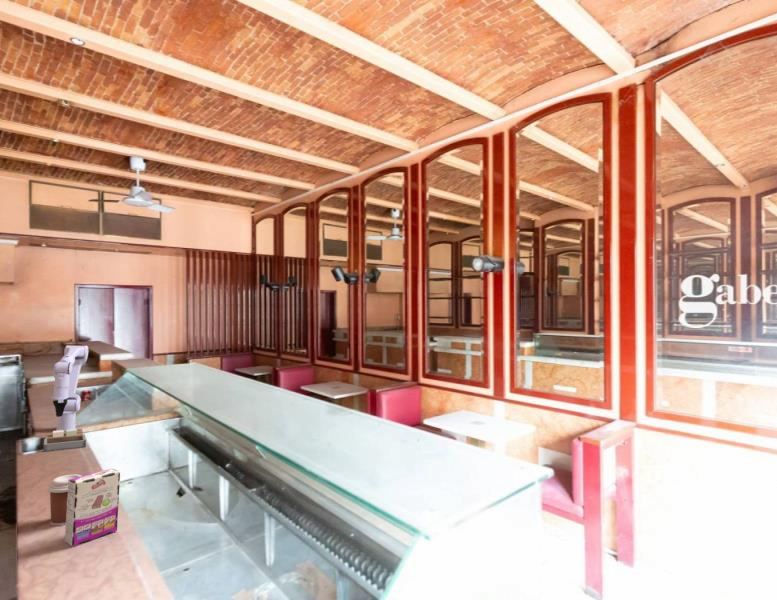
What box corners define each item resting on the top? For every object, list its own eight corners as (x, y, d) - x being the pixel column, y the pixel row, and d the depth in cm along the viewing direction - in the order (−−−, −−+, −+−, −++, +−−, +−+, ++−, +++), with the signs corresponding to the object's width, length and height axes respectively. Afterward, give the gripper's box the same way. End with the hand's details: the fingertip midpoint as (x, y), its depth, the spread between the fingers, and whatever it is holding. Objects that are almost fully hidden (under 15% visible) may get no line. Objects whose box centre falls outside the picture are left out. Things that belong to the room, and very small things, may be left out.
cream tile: (52, 435, 206) (53, 430, 206) (63, 434, 208) (63, 429, 208) (52, 437, 203) (53, 432, 203) (63, 436, 205) (63, 431, 205)
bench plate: (45, 437, 210) (46, 432, 210) (81, 434, 218) (81, 429, 219) (45, 444, 199) (45, 439, 199) (82, 440, 207) (83, 435, 208)
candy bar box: (108, 526, 125) (112, 467, 126) (117, 531, 122) (121, 471, 123) (62, 542, 115) (67, 478, 116) (71, 548, 113) (76, 482, 114)
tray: (43, 445, 198) (44, 438, 198) (84, 440, 207) (84, 434, 208) (43, 451, 189) (43, 444, 189) (85, 447, 198) (86, 440, 198)
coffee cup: (42, 519, 128) (46, 477, 128) (80, 511, 134) (83, 470, 135) (46, 531, 121) (50, 486, 122) (86, 521, 127) (89, 479, 128)
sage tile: (65, 434, 209) (66, 429, 209) (76, 433, 211) (76, 428, 211) (66, 435, 206) (66, 431, 206) (76, 434, 208) (76, 430, 208)
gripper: (51, 385, 215) (48, 413, 214) (51, 389, 204) (48, 419, 203) (68, 385, 220) (66, 412, 219) (69, 388, 208) (67, 417, 207)
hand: (59, 415), depth 211 cm, fingers open, 3 cm apart
